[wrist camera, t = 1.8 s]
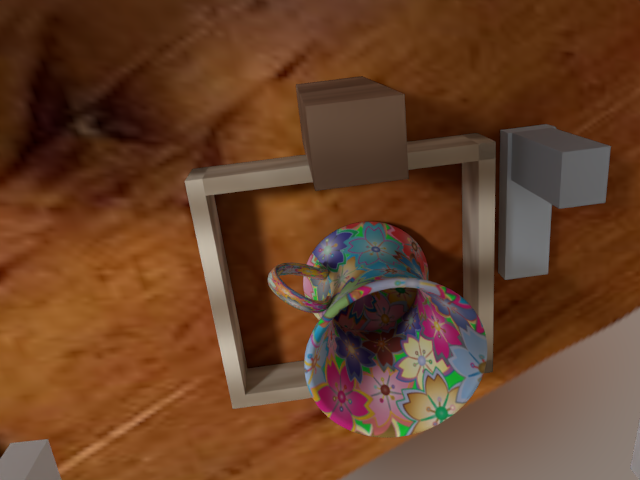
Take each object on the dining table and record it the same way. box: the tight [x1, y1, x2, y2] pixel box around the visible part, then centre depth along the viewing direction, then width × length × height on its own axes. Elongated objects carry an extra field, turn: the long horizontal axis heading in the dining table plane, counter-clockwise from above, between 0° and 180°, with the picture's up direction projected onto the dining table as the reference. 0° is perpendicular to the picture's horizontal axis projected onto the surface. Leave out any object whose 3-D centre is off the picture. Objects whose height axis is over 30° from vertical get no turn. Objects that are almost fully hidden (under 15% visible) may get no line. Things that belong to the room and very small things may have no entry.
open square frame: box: [185, 77, 496, 409], centre depth 30 cm, size 20×18×11 cm
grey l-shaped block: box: [498, 124, 611, 280], centre depth 31 cm, size 10×3×7 cm, turn 6°
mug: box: [268, 221, 487, 437], centre depth 31 cm, size 12×9×11 cm
